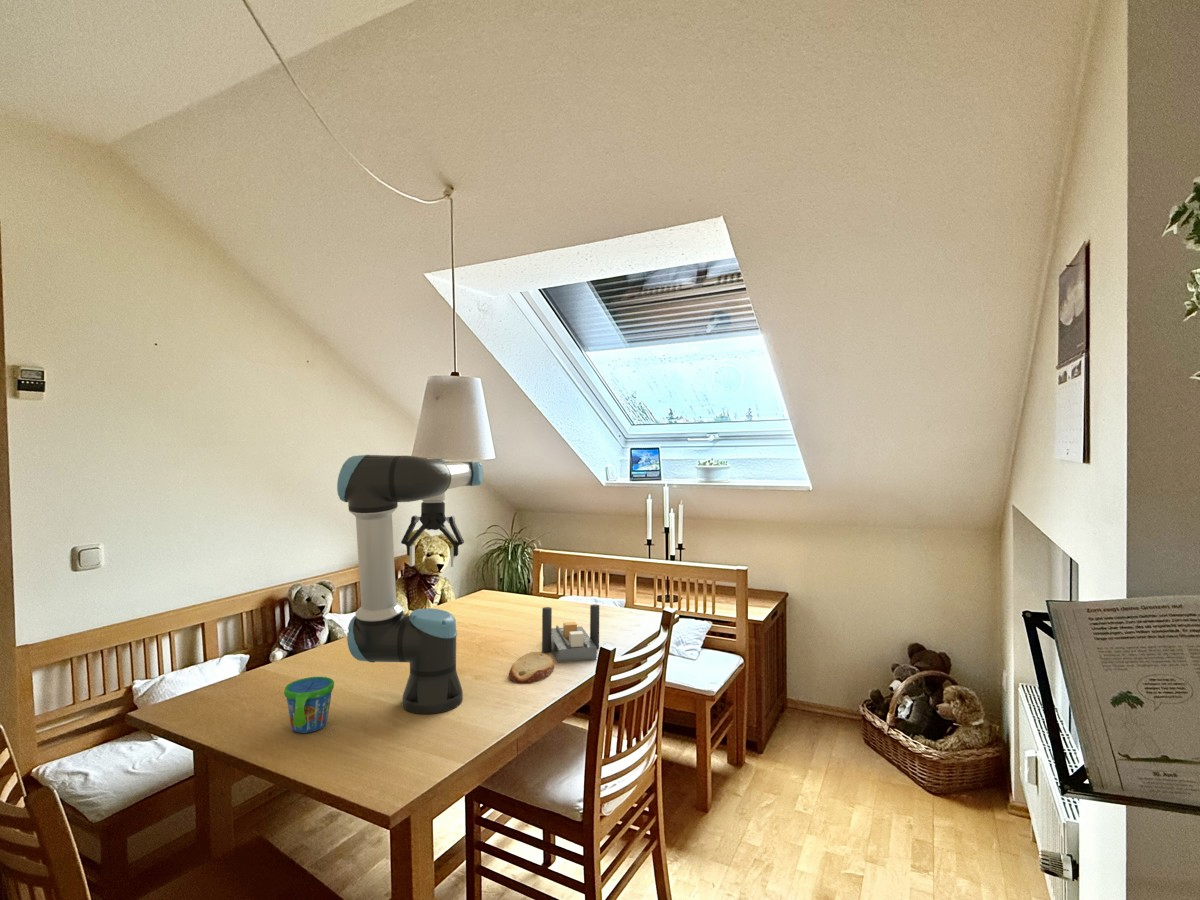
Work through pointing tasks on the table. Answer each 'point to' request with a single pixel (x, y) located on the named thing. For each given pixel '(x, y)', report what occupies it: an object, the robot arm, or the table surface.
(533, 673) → the bread slice
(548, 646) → the post left
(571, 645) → the toggle
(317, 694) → the snack cup
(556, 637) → the grey tray
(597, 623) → the post right
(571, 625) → the toggle
